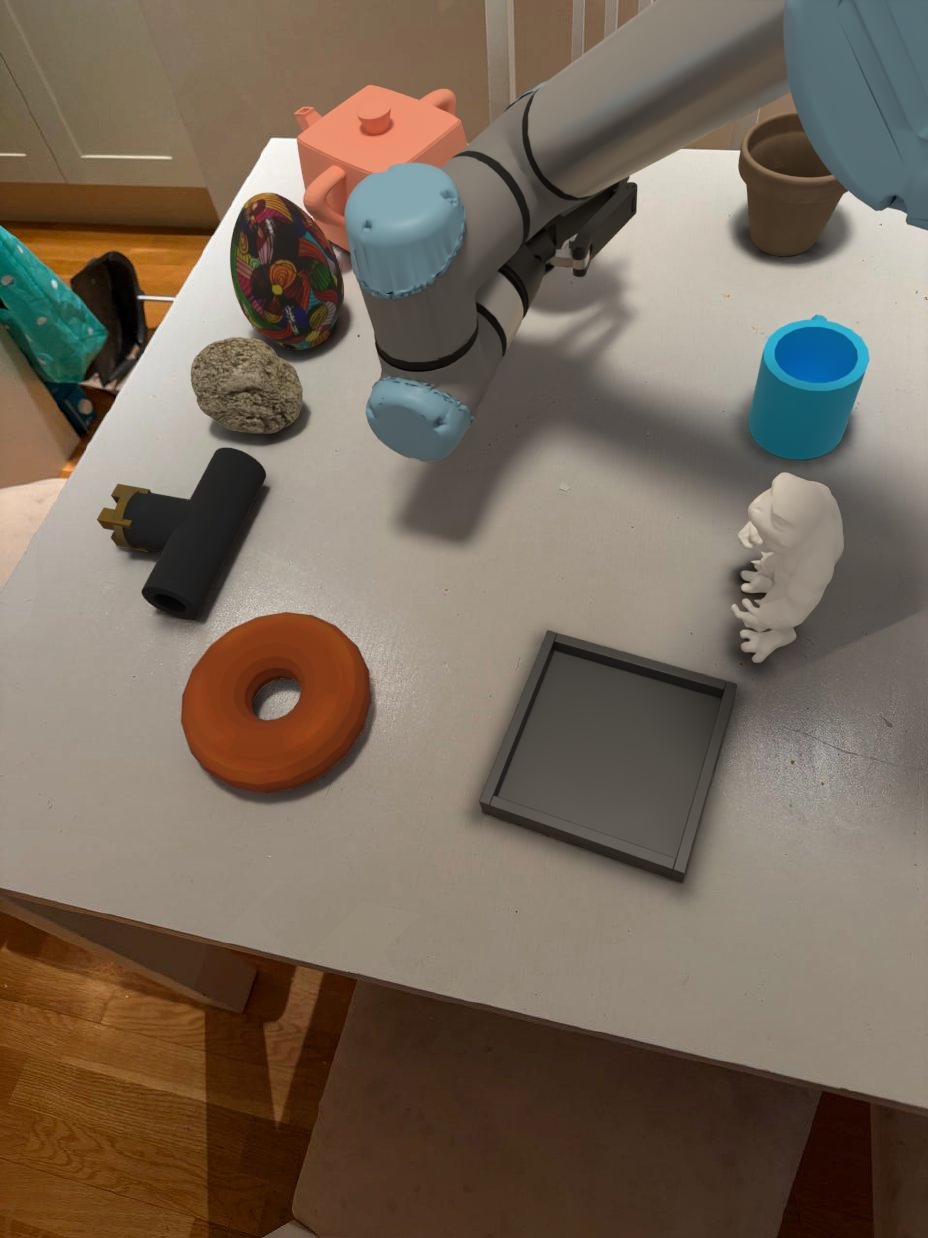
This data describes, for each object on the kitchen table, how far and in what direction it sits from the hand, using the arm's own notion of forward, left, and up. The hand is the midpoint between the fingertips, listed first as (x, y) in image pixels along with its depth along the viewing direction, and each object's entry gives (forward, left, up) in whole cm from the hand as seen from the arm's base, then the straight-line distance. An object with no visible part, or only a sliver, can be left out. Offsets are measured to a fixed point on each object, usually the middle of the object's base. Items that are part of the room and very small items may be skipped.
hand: (570, 136), depth 82 cm
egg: (+24, +16, -14) cm, 32 cm away
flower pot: (-20, -9, -14) cm, 26 cm away
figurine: (-28, +36, -14) cm, 48 cm away
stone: (+22, +29, -14) cm, 39 cm away
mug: (-26, +14, -14) cm, 33 cm away
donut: (+5, +56, -14) cm, 58 cm away
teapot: (+23, -2, -14) cm, 27 cm away
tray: (-20, +51, -14) cm, 57 cm away
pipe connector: (+22, +44, -14) cm, 51 cm away
